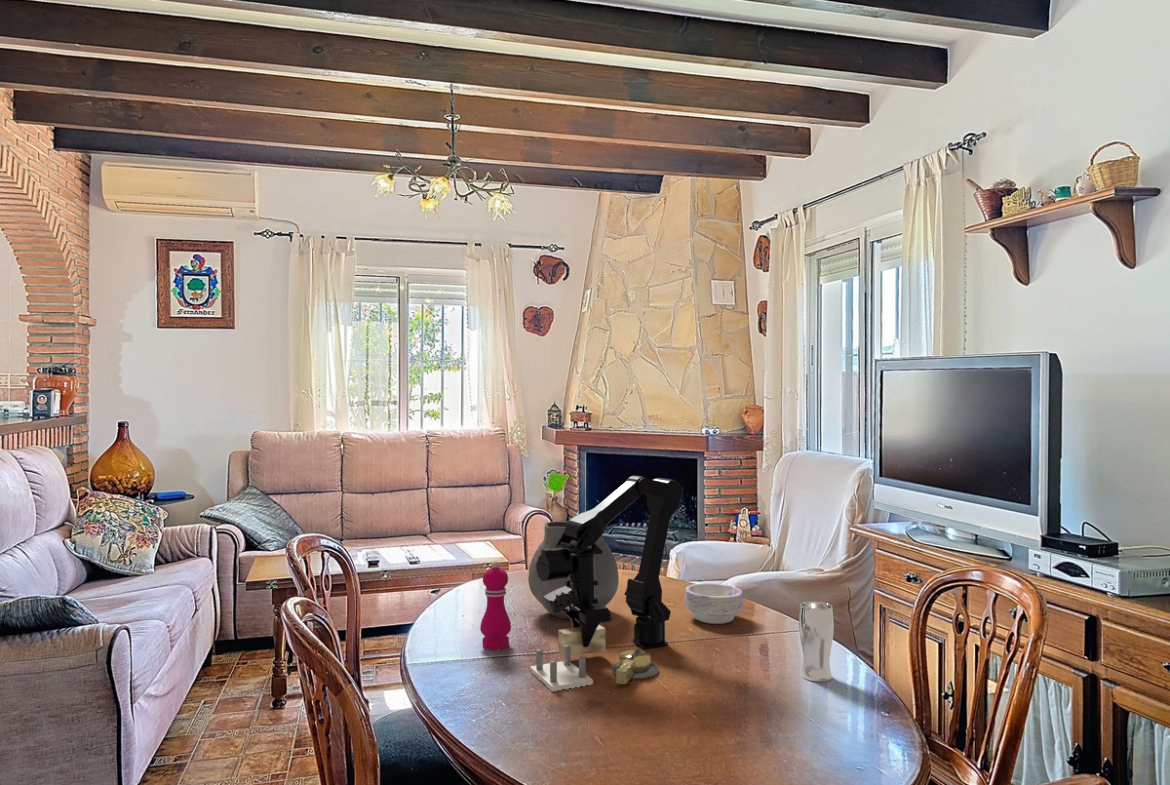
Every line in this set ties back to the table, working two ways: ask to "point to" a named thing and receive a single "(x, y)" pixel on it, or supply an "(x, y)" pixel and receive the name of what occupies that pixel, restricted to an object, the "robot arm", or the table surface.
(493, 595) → the pepper mill
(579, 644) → the beech bar
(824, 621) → the beer glass
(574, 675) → the peg rack
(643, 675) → the base
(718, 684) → the table surface
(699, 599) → the paper bowls
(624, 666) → the brass lever handle
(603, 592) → the ceramic pot
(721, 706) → the table surface
